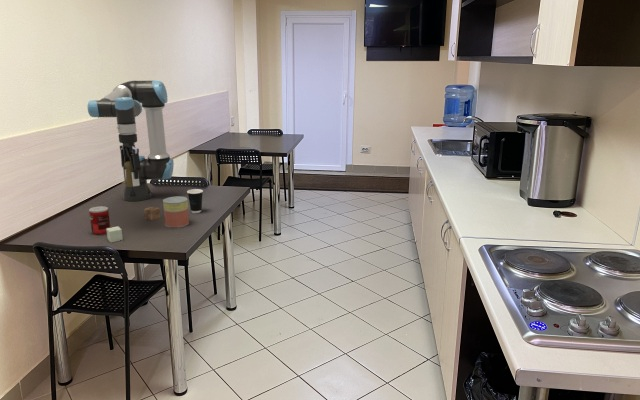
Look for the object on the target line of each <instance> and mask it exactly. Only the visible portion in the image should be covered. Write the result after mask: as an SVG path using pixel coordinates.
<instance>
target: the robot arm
mask: <svg viewBox="0 0 640 400" xmlns="http://www.w3.org/2000/svg"><path fill="white" fill-rule="evenodd" d="M168 101H169V100H168V93H167V87H166V86H165V84H164V83H163V81H160V80H129V81H126V82H122V83H121V84H118V85H116V86H115V87H114V88H113V89H112V91H111V92H110V93H108V94H107V95H105V96H104V97H102V98H101V99H99V100H97V99H95V100H89V101H88V103H87V113H88V115H89V117H92V118H98V119H99V118H116V124H117V126H116V129H117V133H118V142H119V144H121V145H119V150H120V151H119V152H120V161H121V168H122V169H123V178H124V189H123V191H122V192H123V194H122V199H123V200H124V201H127V202H139V201H140V202H141V201H145V200H149V199H151V198H152V192H151V190H150V187H149V185H148V180H149V181H151V180H154V181H156V180H161V181H163V180H170V179H171V178H172V176H173V174H174V165H175V164H174V158H172V157H171V156H170V154H169V153H168V152H167V145H166V136H165V125H164V117H163V116H164V115H163V113H164V112H163V110H164V108H165V106H166V104H168ZM143 109H144V110H145V118H146V119H145V120H146V127H147V137H148V147H149V154H148V155H147V158H146V157H145V156H144V155H140V153H139V152H140V149H139V148H136V145H135V143H137V142H138V134H137V123H136V117H138V116H140V114H141V113H142V112H143ZM128 161H130V163H131V167H132V171H131V172H132V181H133V186H135V187H127V186H126V168H125V162H128ZM139 183H140V185H139Z"/></svg>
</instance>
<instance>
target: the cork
mask: <svg viewBox="0 0 640 400" xmlns="http://www.w3.org/2000/svg"><path fill="white" fill-rule="evenodd" d="M125 168H126V186H127V187H135V186H133V181H132V172H131V171H132V167H131V163H130V161H128V162H125ZM139 185H140V183H139Z"/></svg>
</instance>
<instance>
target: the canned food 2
mask: <svg viewBox="0 0 640 400" xmlns="http://www.w3.org/2000/svg"><path fill="white" fill-rule="evenodd" d="M188 201H189V198H187V197H186V196H177V195H176V196H170V197H169V196H168V197H166V198H164V199H162V204H163V207H162V208H163V216H164V217H163V218H164V226H165V227H166V228H171V227H177V228H182V227H186V226H188V225H190V218H189V215H190V214H189V202H188Z"/></svg>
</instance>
